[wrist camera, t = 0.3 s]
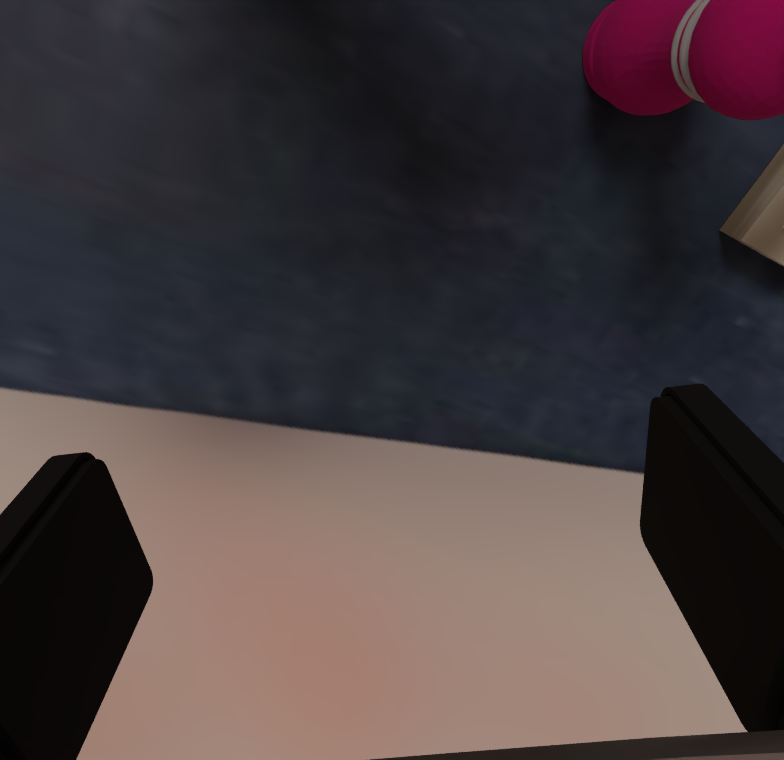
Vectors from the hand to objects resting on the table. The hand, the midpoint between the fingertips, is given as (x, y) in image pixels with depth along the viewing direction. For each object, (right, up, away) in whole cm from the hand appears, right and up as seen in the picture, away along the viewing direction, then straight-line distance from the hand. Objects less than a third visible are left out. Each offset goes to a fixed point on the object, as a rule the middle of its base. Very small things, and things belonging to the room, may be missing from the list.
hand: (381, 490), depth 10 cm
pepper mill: (+16, +24, +29) cm, 40 cm away
